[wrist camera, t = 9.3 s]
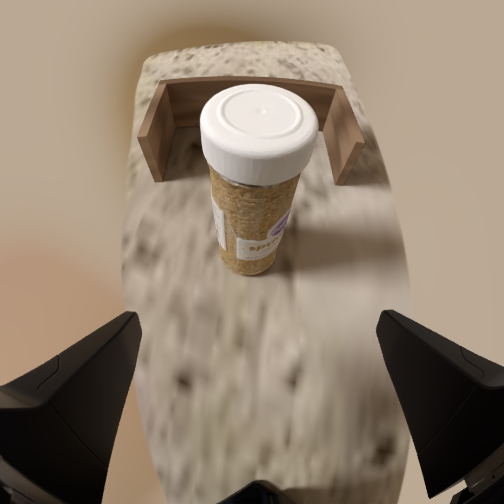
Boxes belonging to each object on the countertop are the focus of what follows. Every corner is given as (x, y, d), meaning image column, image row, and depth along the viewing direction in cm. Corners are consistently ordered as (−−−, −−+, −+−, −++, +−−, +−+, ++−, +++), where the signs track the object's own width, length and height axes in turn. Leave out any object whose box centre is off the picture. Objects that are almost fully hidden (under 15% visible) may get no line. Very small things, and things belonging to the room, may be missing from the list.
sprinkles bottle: (264, 286, 20) (303, 171, 8) (209, 263, 21) (174, 132, 8) (284, 235, 22) (331, 98, 10) (232, 215, 23) (230, 71, 10)
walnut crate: (342, 185, 24) (365, 143, 19) (154, 182, 24) (137, 137, 18) (328, 127, 27) (341, 86, 22) (169, 123, 27) (160, 80, 21)
